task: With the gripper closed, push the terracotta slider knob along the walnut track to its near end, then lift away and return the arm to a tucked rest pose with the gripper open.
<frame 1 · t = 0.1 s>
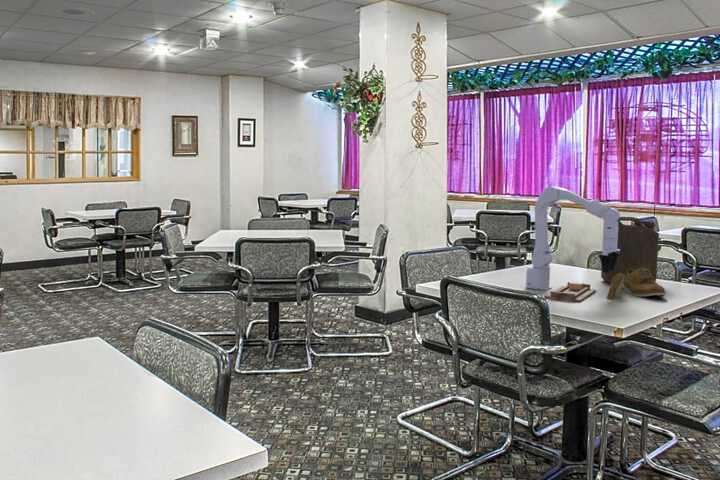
hand: (608, 271, 271), 10 cm above the table, fingers open, 7 cm apart
slider knob: (576, 285, 278), point 3 cm above the table, slide at 0.0 cm
slider track: (570, 295, 272), on the table
container: (627, 283, 302), on the table
rock: (612, 297, 269), on the table
oxford shoe: (641, 294, 276), on the table
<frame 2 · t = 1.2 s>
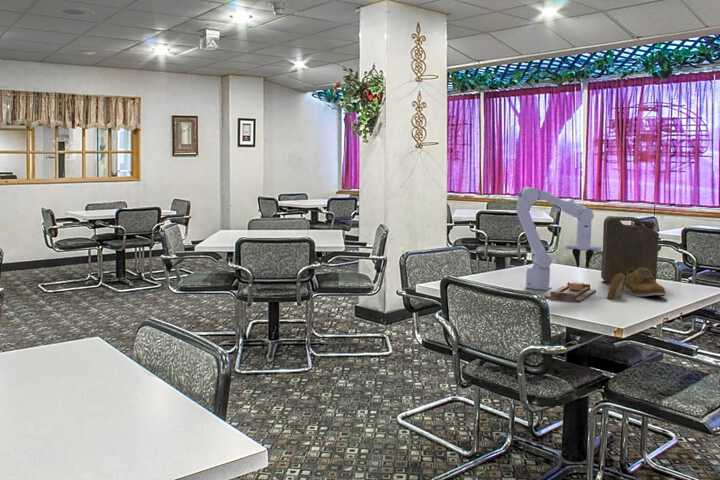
hand: (582, 267, 285), 9 cm above the table, fingers open, 3 cm apart
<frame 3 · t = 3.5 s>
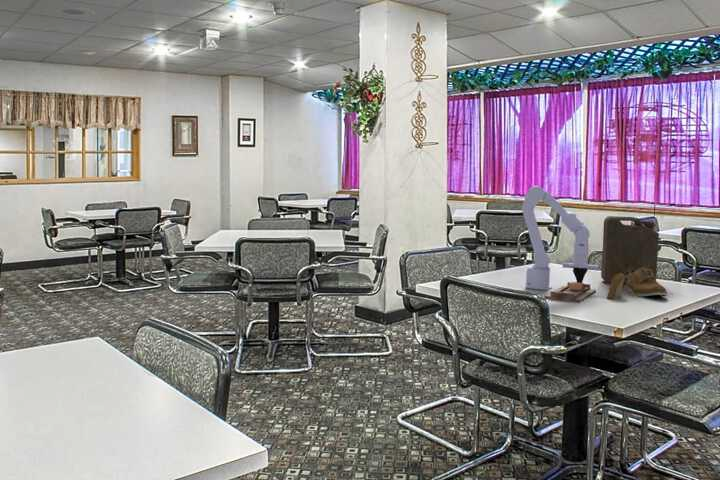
hand: (579, 285, 283), 2 cm above the table, fingers closed, pressing on slider track
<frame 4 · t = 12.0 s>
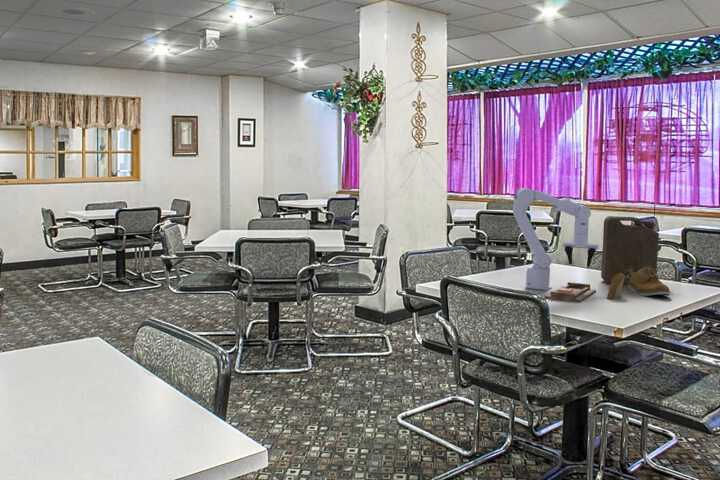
hand: (579, 264, 285), 10 cm above the table, fingers open, 7 cm apart
slider knob: (565, 292, 264), point 3 cm above the table, slide at 17.0 cm
oxford shoe: (646, 293, 278), on the table
everything else where it was.
at the end: slider knob slide at 17.0 cm; the gripper is holding nothing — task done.
